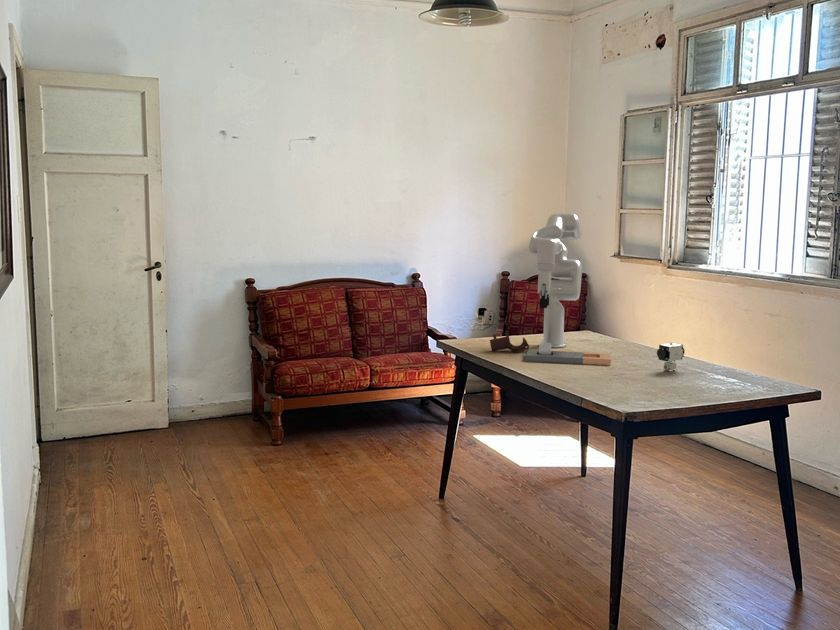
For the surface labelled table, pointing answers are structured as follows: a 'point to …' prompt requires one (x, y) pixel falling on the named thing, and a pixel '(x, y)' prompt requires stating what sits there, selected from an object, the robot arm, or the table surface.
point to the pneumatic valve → (670, 354)
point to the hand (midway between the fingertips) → (544, 306)
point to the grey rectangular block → (544, 348)
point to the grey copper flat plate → (569, 357)
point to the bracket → (507, 344)
